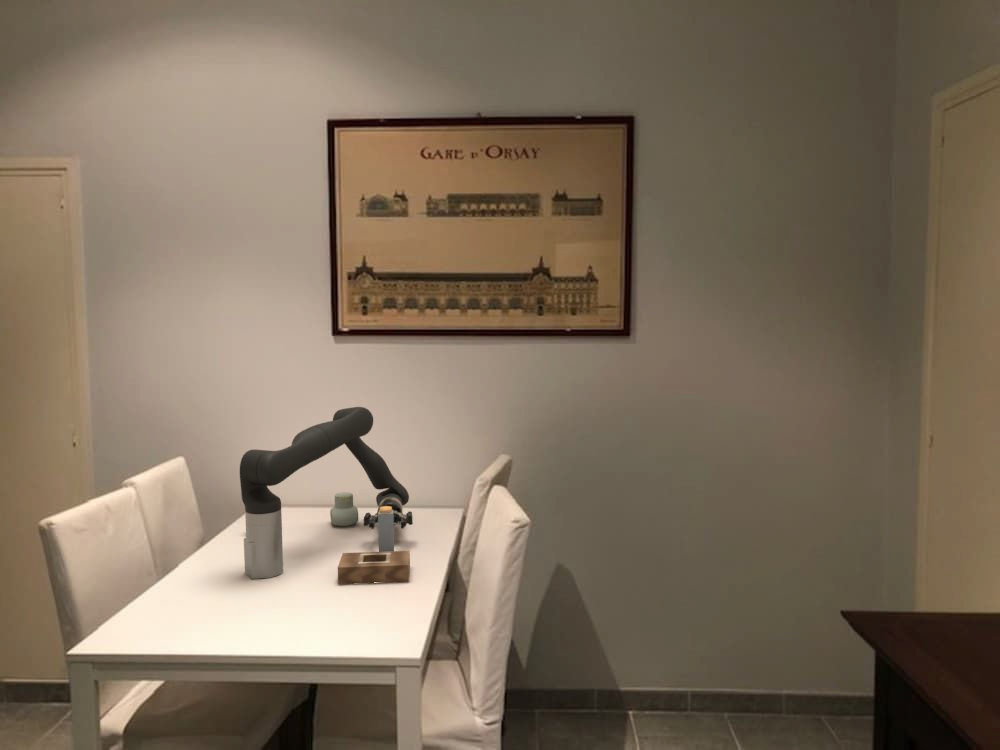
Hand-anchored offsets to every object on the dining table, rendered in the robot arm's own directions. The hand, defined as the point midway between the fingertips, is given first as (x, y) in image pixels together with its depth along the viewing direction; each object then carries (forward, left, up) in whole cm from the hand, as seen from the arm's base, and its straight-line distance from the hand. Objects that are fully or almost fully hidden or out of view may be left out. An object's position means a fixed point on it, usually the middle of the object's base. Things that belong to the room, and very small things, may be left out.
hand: (387, 525), depth 231 cm
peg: (-4, -7, -8) cm, 11 cm away
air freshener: (+2, +35, -8) cm, 36 cm away
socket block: (-12, -16, -8) cm, 21 cm away
